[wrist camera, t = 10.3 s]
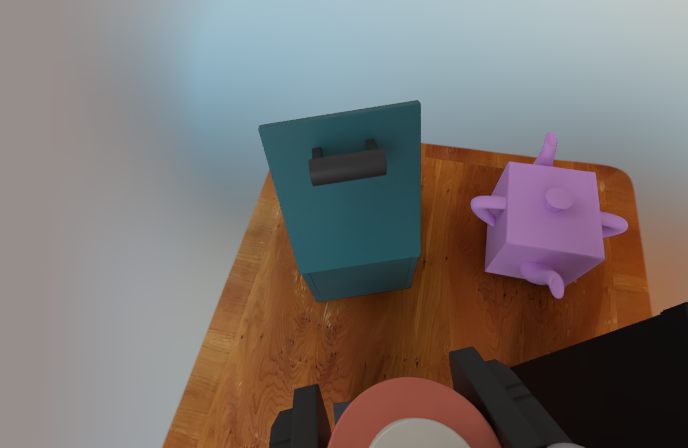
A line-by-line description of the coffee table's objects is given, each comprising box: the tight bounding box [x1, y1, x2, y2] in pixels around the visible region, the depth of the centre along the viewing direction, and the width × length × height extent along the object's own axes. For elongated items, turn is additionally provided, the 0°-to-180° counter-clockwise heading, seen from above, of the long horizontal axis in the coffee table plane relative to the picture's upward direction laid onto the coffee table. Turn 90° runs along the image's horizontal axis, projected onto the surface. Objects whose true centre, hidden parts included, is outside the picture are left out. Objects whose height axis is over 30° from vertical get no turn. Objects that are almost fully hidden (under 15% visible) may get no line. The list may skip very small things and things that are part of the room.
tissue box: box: [510, 302, 688, 448], centre depth 22 cm, size 8×8×28 cm
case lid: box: [258, 100, 421, 274], centre depth 27 cm, size 14×12×5 cm
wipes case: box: [302, 256, 419, 302], centre depth 41 cm, size 14×12×10 cm
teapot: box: [471, 132, 628, 299], centre depth 39 cm, size 15×13×11 cm
